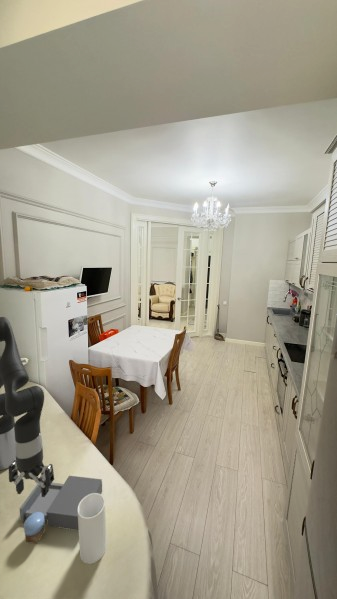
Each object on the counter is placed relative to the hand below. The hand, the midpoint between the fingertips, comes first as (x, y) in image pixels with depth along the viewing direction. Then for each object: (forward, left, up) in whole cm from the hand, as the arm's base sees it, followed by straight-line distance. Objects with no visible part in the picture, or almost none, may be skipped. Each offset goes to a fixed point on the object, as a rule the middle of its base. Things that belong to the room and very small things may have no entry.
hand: (32, 493), depth 80 cm
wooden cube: (0, 0, -16) cm, 16 cm away
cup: (+21, -1, -16) cm, 27 cm away
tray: (-1, +11, -16) cm, 19 cm away
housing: (+9, +11, -16) cm, 21 cm away
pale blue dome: (0, 0, -12) cm, 12 cm away
